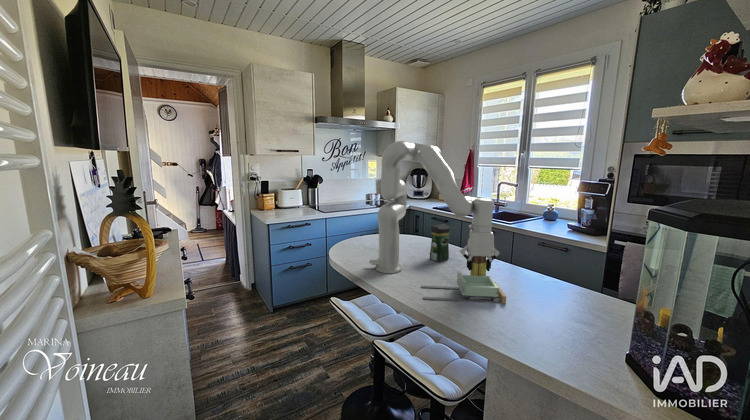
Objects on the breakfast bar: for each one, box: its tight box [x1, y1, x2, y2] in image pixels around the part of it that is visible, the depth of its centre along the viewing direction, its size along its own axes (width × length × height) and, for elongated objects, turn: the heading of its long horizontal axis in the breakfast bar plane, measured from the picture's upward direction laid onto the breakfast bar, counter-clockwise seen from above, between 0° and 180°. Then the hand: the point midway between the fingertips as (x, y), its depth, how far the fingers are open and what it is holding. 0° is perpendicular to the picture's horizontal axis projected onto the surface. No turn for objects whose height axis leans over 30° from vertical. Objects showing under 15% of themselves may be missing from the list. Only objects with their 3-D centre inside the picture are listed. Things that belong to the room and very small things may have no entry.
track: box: [420, 281, 507, 305], centre depth 118 cm, size 30×13×3 cm, turn 86°
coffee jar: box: [429, 223, 451, 263], centre depth 156 cm, size 10×8×19 cm
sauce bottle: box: [469, 256, 487, 276], centre depth 126 cm, size 6×6×20 cm
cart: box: [456, 270, 500, 300], centre depth 117 cm, size 13×11×7 cm
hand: (478, 269), depth 126 cm, fingers open, 6 cm apart
